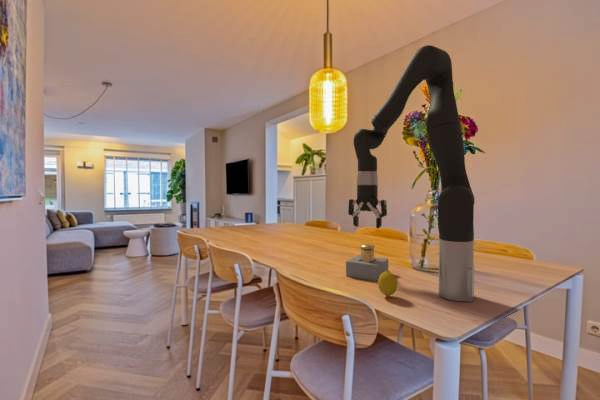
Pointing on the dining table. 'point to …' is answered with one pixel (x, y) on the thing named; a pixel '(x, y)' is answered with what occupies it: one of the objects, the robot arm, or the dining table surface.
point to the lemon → (387, 283)
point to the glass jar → (367, 252)
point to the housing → (366, 268)
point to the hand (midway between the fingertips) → (367, 227)
